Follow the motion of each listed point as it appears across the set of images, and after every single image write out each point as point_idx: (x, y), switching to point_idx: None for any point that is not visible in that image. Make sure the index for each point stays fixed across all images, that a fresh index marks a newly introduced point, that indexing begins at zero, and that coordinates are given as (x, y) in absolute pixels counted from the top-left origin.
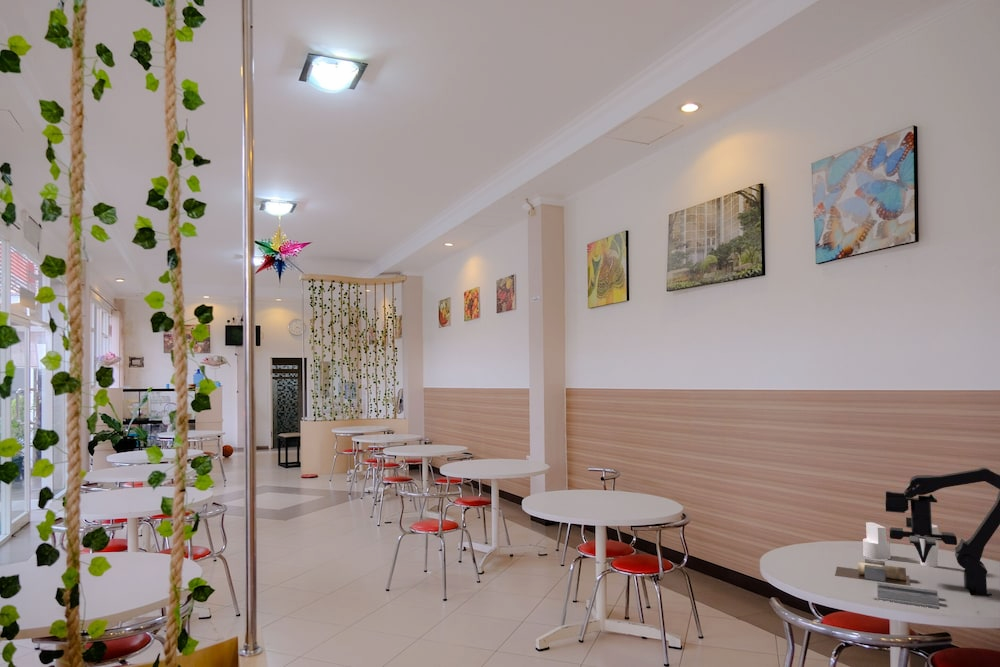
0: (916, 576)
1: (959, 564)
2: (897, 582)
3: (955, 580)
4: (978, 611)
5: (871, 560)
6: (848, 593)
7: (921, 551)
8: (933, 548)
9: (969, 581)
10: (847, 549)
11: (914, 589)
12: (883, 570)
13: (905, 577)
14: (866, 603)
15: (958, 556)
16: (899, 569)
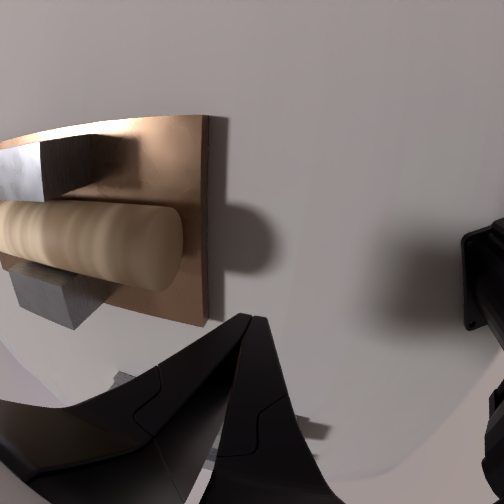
0: (259, 36)
1: (489, 425)
2: (149, 293)
3: (475, 55)
4: (387, 452)
5: (2, 166)
6: (76, 384)
7: (197, 466)
8: None
9: (497, 336)
10: None
11: (214, 445)
12: (72, 324)
13: (170, 278)
14: None
15: (491, 485)
16: (120, 282)
